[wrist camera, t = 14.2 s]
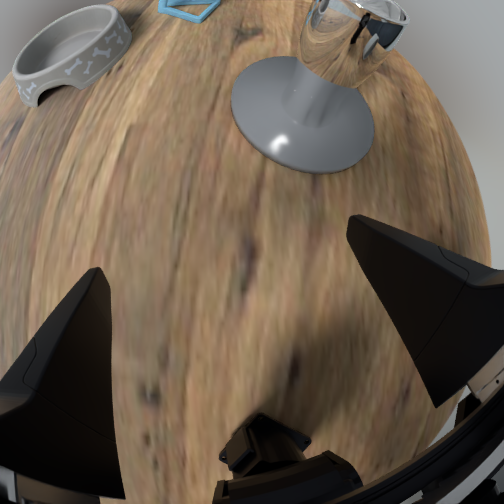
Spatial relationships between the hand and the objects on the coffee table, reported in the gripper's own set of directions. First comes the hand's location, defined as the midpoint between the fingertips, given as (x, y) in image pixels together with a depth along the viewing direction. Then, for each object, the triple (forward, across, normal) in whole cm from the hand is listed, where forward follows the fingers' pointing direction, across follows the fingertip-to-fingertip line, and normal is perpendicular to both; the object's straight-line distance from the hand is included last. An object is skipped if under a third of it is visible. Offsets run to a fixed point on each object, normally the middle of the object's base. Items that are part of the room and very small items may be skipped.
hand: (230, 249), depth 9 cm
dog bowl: (+33, +16, -13) cm, 39 cm away
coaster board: (+20, -12, -1) cm, 24 cm away
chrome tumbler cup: (+20, -12, -2) cm, 23 cm away
